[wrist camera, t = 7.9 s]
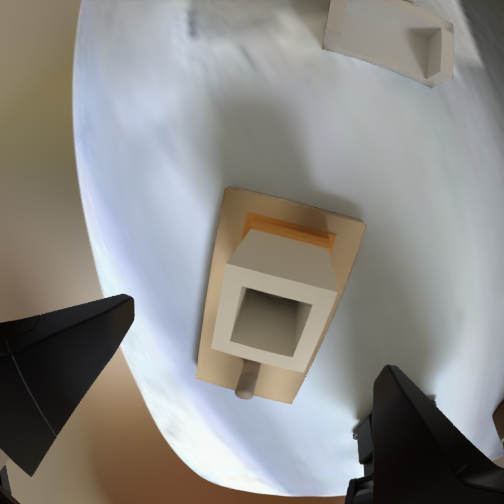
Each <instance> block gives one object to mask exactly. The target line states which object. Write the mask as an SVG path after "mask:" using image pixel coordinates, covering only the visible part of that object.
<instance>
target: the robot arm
mask: <svg viewBox="0 0 504 504" xmlns="http://www.w3.org/2000/svg"><path fill="white" fill-rule="evenodd" d="M134 317H135V313H134V299H133V297H131V296H129V295H126V294H120V295H116V296H112V297H108V298H104V299H100V300H96V301H92V302H88V303H85V304H80V305H76V306H73V307H69V308H65V309H61V310H57V311H53V312H49V313H45V314H42V315H41V316H40V315H37V316H33V317H28V318H24V319H19V320H14V321H8V322H2V323H0V504H20V503H19V502H18V501H17V500H16V499H15V498H14V497H13V496H12V495H11V489H10V485H9V480H8V475H7V469H6V465H5V464H6V463H7V461H8V460H9V459H11V460H12V461H13V462H14V463H16V464H17V465H18V466H19V467H20V468H21V469H22V470H23V471H24V472H26V473H27V474H28V475H29V476H30V477H32V476H33V474H34V473H35V471H36V469H37V468H38V466H39V464H40V463H41V461H42V459H43V458H44V456H45V455H46V453H47V451H48V450H49V448H50V447H51V445H52V444H53V442H54V440H55V439H56V436H57V435H58V434H59V432H60V431H61V429H62V428H63V426H64V425H65V423H66V422H67V420H68V419H69V417H70V416H71V414H72V413H73V411H74V410H75V408H76V407H77V406H78V404H79V403H80V401H81V399H82V398H83V397H84V395H85V394H86V393H87V391H88V390H89V388H90V387H91V385H92V384H93V383H94V381H95V380H96V378H97V377H98V376H99V374H100V373H101V371H102V370H103V369H104V367H105V366H106V364H107V363H108V362H109V361H110V359H111V358H112V356H113V355H114V354H115V352H116V350H117V349H118V347H119V345H120V344H121V342H122V340H123V338H124V337H125V335H126V333H127V332H128V330H129V328H130V326H131V325H132V323H133V321H134ZM436 405H437V404H436V402H435V401H432V400H430V399H429V398H428V397H427V396H426V395H425V394H424V393H423V392H422V391H421V390H420V389H419V388H418V387H417V386H416V385H415V384H414V383H413V382H412V381H411V380H410V379H409V378H408V377H407V376H406V375H405V374H404V373H403V372H402V371H401V370H400V369H399V368H398V367H397V366H395V365H386V366H384V368H383V369H382V371H381V372H380V374H379V376H378V377H377V379H376V380H375V382H374V387H373V411H372V412H371V414H370V415H369V416H368V417H367V419H366V420H365V421H364V422H363V423H362V424H361V426H360V427H359V428H358V429H357V430H356V431H355V433H354V434H353V439H355V440H358V453H359V463H360V464H363V465H364V477H361V478H358V479H357V478H355V479H351V480H350V482H349V487H348V489H347V494H346V499H345V504H504V468H501V467H499V466H497V465H496V464H494V463H493V462H492V461H491V460H490V459H489V458H488V457H486V456H485V455H484V454H483V453H482V452H481V451H480V450H479V449H478V448H476V447H475V446H474V445H473V444H472V443H471V442H470V441H469V440H468V439H467V438H466V437H465V436H464V435H463V434H462V433H461V432H460V431H459V430H458V429H457V428H456V427H455V426H453V423H452V422H451V421H450V420H449V419H448V418H447V417H446V416H445V415H444V414H443V413H442V412H441V411H440V410H439V409H438V408H437V407H436Z"/></svg>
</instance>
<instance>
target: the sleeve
mask: <svg viewBox="0 0 504 504" xmlns="http://www.w3.org/2000/svg"><path fill="white" fill-rule="evenodd" d="M330 249H331V243H330V240H329V239H326V238H322V237H318V236H315V235H311V234H307V233H303V232H300V231H296V230H292V229H288V228H284V227H280V226H276V225H272V224H268V223H265V222H260V221H256V220H252V221H251V223H250V224H249V226H248V230H247V235H246V236H245V238H244V239H243V240H242V242H241V243H240V244H239V246H238V247H237V249H236V250H235V251H234V253H233V254H232V255H231V257H230V258H229V260H228V261H227V262H226V266H225V271H224V277H223V282H222V288H221V294H220V299H219V305H218V311H217V317H216V323H215V328H214V334H213V341H212V347H211V349H214V350H218V351H221V352H224V353H228V354H231V355H234V356H238V357H241V358H245V359H249V360H252V361H256V362H260V363H264V364H268V365H272V366H276V367H280V368H284V369H289V370H293V371H298V372H302V373H304V371H305V369H306V367H307V365H308V362H309V360H310V358H311V356H312V354H313V351H314V349H315V347H316V345H317V342H318V340H319V338H320V335H321V333H322V331H323V328H324V326H325V324H326V321H327V319H328V316H329V314H330V311H331V309H332V306H333V304H334V301H335V299H336V296H337V293H338V290H337V286H336V281H335V277H334V273H333V268H332V264H331V260H330V256H329V253H330ZM265 292H266V293H269V294H273V295H277V296H281V297H283V298H281V299H272V298H270V297H268V296H267V295H266V294H265Z"/></svg>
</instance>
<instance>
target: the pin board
mask: <svg viewBox="0 0 504 504" xmlns="http://www.w3.org/2000/svg"><path fill="white" fill-rule="evenodd" d="M252 220H256V221H260V222H265V223H268V224H272V225H276V226H280V227H284V228H288V229H292V230H296V231H300V232H303V233H307V234H311V235H315V236H318V237H322V238H326V239H329V240H330V243H331V249H330V253H329V256H330V260H331V264H332V268H333V273H334V277H335V281H336V286H337V290H338V293H337V296H336V299H335V301H334V304H333V306H332V309H331V311H330V314H329V316H328V319H327V321H326V324H325V326H324V328H323V331H322V333H321V335H320V338H319V340H318V342H317V345H316V347H315V349H314V351H313V354H312V356H311V358H310V360H309V362H308V365H307V367H306V369H305V371H304V373H302V372H298V371H293V370H289V369H284V368H280V367H276V366H272V365H268V364H264V363H260V362H256V361H252V360H249V359H245V358H241V357H238V356H234V355H231V354H228V353H224V352H221V351H218V350H214V349H211V347H212V341H213V334H214V328H215V323H216V317H217V311H218V305H219V299H220V294H221V288H222V282H223V277H224V271H225V266H226V262H227V261H228V260H229V258H230V257H231V255H232V254H233V253H234V251H235V250H236V249H237V247H238V246H239V244H240V243H241V242H242V240H243V239H244V238H245V236H246V235H247V230H248V226H249V224H250V223H251V221H252ZM365 228H366V224H365V223H364V222H363V221H361V220H357V219H354V218H351V217H347V216H344V215H340V214H337V213H333V212H330V211H326V210H323V209H319V208H315V207H312V206H308V205H304V204H301V203H297V202H293V201H289V200H285V199H281V198H277V197H273V196H269V195H265V194H261V193H256V192H252V191H248V190H243V189H239V188H234V187H227V188H225V191H224V197H223V202H222V207H221V213H220V218H219V224H218V230H217V235H216V241H215V247H214V253H213V259H212V265H211V272H210V278H209V284H208V291H207V297H206V304H205V311H204V318H203V325H202V333H201V340H200V348H199V356H198V364H197V372H196V378H197V379H200V380H203V381H206V382H209V383H212V384H215V385H218V386H222V387H225V388H228V389H232V390H235V394H236V396H237V397H239V398H241V399H251V398H252V397H253V395H254V396H258V397H262V398H266V399H270V400H275V401H279V402H284V403H289V404H292V402H293V400H294V399H295V397H296V395H297V393H298V391H299V389H300V387H301V385H302V383H303V381H304V379H305V377H306V375H307V373H308V371H309V369H310V367H311V365H312V363H313V361H314V358H315V356H316V354H317V352H318V350H319V348H320V345H321V343H322V341H323V339H324V337H325V334H326V332H327V330H328V327H329V325H330V323H331V320H332V318H333V316H334V313H335V311H336V308H337V306H338V303H339V301H340V298H341V296H342V293H343V291H344V288H345V285H346V283H347V280H348V277H349V275H350V272H351V269H352V267H353V264H354V261H355V258H356V255H357V252H358V249H359V246H360V243H361V240H362V237H363V234H364V231H365ZM265 294H266V295H267V296H268V297H270V298H272V299H281V298H283V297H281V296H277V295H273V294H269V293H266V292H265Z"/></svg>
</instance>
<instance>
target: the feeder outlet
mask: <svg viewBox="0 0 504 504" xmlns="http://www.w3.org/2000/svg"><path fill="white" fill-rule="evenodd" d="M322 49H325V50H329V51H333V52H336V53H340V54H344V55H347V56H351V57H354V58H357V59H361V60H364V61H367V62H370V63H373V64H376V65H379V66H381V67H384V68H387V69H389V70H392V71H395V72H397V73H400V74H402V75H404V76H407V77H409V78H411V79H414V80H416V81H418V82H420V83H422V84H425V85H427V86H429V87H431V88H433V87H435V86H437V85H439V84H441V83H443V82H445V81H447V80H450V79H452V78H453V58H454V37H453V24H451V23H450V22H448V21H446V20H444V19H442V18H440V17H439V16H437V15H435V14H433V13H431V12H429V11H426V10H424V9H422V8H420V7H418V6H416V5H413V4H411V3H409V2H406V1H404V0H331V2H330V8H329V13H328V18H327V24H326V29H325V35H324V42H323V48H322Z"/></svg>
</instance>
